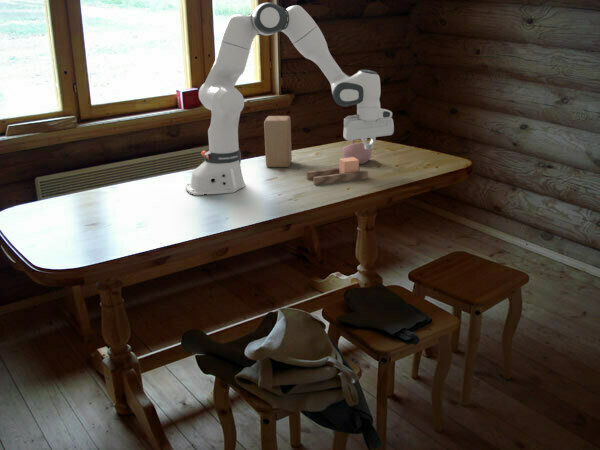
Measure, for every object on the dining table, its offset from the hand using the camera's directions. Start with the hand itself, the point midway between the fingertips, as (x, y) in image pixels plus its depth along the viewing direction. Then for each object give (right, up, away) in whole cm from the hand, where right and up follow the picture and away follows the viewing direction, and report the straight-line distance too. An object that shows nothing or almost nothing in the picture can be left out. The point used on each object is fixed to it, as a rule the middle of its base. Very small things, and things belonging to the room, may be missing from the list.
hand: (368, 148), depth 251 cm
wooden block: (-36, -4, +24) cm, 43 cm away
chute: (-12, -13, 0) cm, 18 cm away
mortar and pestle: (-3, -4, +21) cm, 22 cm away
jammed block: (-8, -11, +1) cm, 13 cm away
